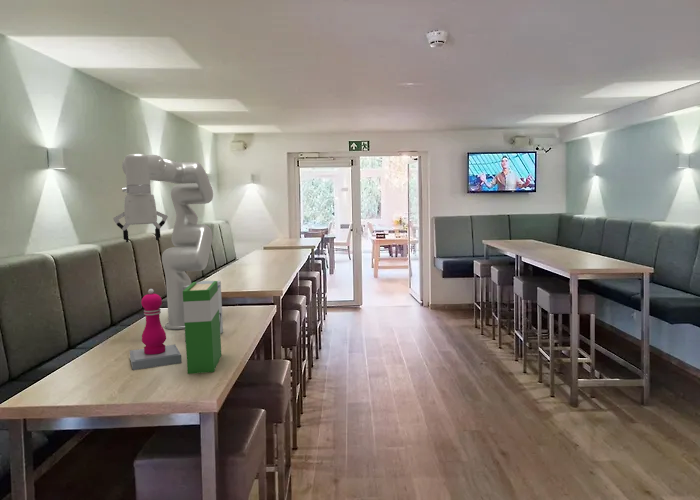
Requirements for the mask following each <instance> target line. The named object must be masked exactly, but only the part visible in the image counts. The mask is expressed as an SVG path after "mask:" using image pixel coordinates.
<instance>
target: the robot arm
mask: <svg viewBox="0 0 700 500" xmlns="http://www.w3.org/2000/svg"><path fill="white" fill-rule="evenodd" d="M121 169H122V171H123V173H124V174H125V180H126V182H125V183H126V186H125V187H122V188H121V190H122V192H123V193H126V194H127V195H125V196H124V202H123V203H124V204H123V205H124V210H123V211H124V212H122V213H120V214H118V215H116V216H115V217H112V219H113V222H114V223H115V224H116V226H117V227H118V228H120V229H121V230H122V234H123V241H125V243H129V240H130V239H129V230H128V228H129V227H130V225H132V226H133V225H149V224H151V225H153V226H155V229H154V231H155V232H154V233H155V235H154V236H155V240H156V241H159V239H161V228H163V226H164V225H165V223H166V221H167V220H168V215H167V214H165V213H162V212H160V211H157V206H156V205H157V204H156V199H155V195H154V194H152V190H151V188H152V187H151V181H154V182H156V181H157V182H164V183H165V182H166V183H171V184H175V185H173V186H172V188H171V190H170V199H171V201H172V204H173V207H174V210H175V214H176V218H175V221H174V222H175V223H174V225H173V230H172V234H171V243H172V245H173V246H174V247H173V246H172V247H169V248H166V249H164V251H163V252H162V255H161V263H162V266H163V271H164V275H165V285H166V287H165V288H166V299H167V301H166V303H167V315H168V317H167V318H168V322H167V323H165V324H164V328H165V329H166V330H185V325H184V306H183V287H184V286H188V285H191V284H192V280H191V278H190V276H189V275H188V273H187V272H200V271H204V270H205V269H206V268H207V266H208V263H209V258H210V255H211V248H212V245H213V231H212V229H211V228H210V226H209V225H207V224H202V223H200V224H199V223H198V220H199V219H198V215H197V214H196V212H195V210H194V209H193V208H192V207H190V205H205V204H209V203H211V202H212V201H213V198H214V191H213V187H212V185H211V182H210V179H209V177H208V173H206V170H205V168H204V167H203V165H202V164H201V163H200V162H197V161H189V162H188V161H187V162H186V161H184V162H183V161H182V162H179V161H176V160H175V161H174V160H173V159H169V158H163V157H161V156H160V155H157V154H145V153H130V154H126V155H125V156H124V159H123V160H122V164H121ZM158 217H160V218H162V219H161V221H160V222H159V223H158ZM122 218H124V225H123V224H122V223H121V222H120V219H122Z"/></svg>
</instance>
